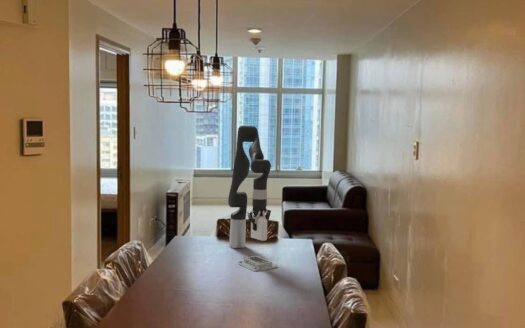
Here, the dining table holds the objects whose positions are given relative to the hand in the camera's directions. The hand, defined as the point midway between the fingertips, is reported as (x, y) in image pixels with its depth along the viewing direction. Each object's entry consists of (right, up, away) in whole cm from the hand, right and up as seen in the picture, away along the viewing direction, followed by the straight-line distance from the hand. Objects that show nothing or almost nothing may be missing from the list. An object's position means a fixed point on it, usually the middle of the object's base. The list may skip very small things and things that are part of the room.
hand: (258, 229), depth 260 cm
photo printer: (0, -5, 0) cm, 5 cm away
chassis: (-1, -19, +1) cm, 19 cm away
